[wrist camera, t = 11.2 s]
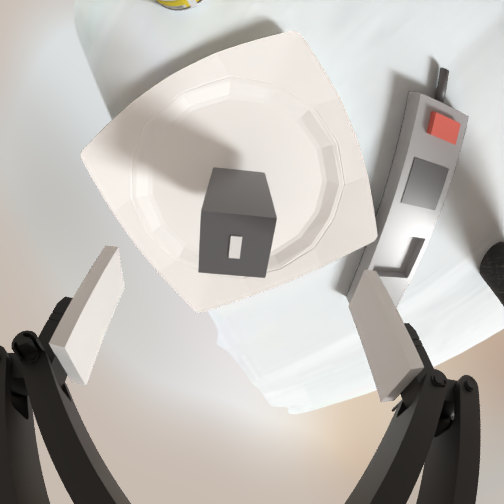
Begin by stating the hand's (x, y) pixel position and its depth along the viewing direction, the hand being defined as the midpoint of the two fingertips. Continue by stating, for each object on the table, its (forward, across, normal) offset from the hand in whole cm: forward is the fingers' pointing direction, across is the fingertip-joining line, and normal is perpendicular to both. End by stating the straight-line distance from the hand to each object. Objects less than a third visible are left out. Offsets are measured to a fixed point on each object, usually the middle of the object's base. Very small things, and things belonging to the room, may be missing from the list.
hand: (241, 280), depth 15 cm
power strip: (+15, +18, +1) cm, 24 cm away
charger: (+13, 0, 0) cm, 13 cm away
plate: (+16, 0, 0) cm, 16 cm away
